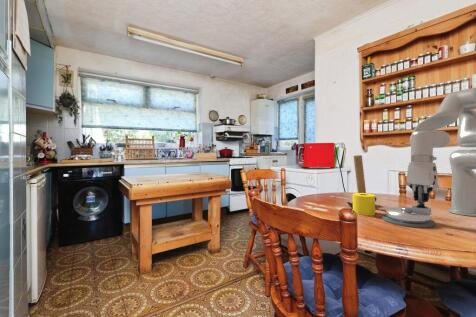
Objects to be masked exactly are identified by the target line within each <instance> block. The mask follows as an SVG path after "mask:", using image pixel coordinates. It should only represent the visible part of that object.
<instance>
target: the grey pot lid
mask: <svg viewBox="0 0 476 317" xmlns="http://www.w3.org/2000/svg"><path fill="white" fill-rule="evenodd" d="M385 214H386V217H387V218H389V219H391V220H395V221H399V222H404V223H412V224H426V223H429V222H430V219H431V215H432V209H431V208H430V207H429V206H427V205H425V208H417V205H413V204H412V206H411V207H407V206H403V207H388V208H386V209H385Z"/></svg>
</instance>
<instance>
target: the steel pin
mask: <svg viewBox="0 0 476 317" xmlns="http://www.w3.org/2000/svg"><path fill="white" fill-rule="evenodd" d="M422 193H424V186H423V185H418V197H417V201H416V203H417V205H416V206H417V208H425V206H426V205H425V204H426V202H422Z"/></svg>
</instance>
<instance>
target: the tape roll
mask: <svg viewBox="0 0 476 317" xmlns="http://www.w3.org/2000/svg"><path fill="white" fill-rule="evenodd" d="M375 197H376V195H375V194H372V193H367V192H366V193H358V192H354V193H352V203H353V208H352V211H353V210H354V211H355V212H356V213H357V214H356V215H359V216H365V217H366V216H367V217H369V216H371V217H373V216H375V215H376V201H375Z"/></svg>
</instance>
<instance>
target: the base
mask: <svg viewBox="0 0 476 317" xmlns="http://www.w3.org/2000/svg"><path fill="white" fill-rule="evenodd" d="M381 219H382V220H383V221H385V222H387V223H390V224H393V225H396V226H401V227H405V228H406V227H407V228H417V229H426V228H427V229H429V227H430V228H433V227H435V226H436V224H435V221H434V220H433V219H431V218H430V222H429V223H426V224H412V223H404V222H399V221H395V220H391V219H389V218H387V217H386V213H383V214H382V216H381Z"/></svg>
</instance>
